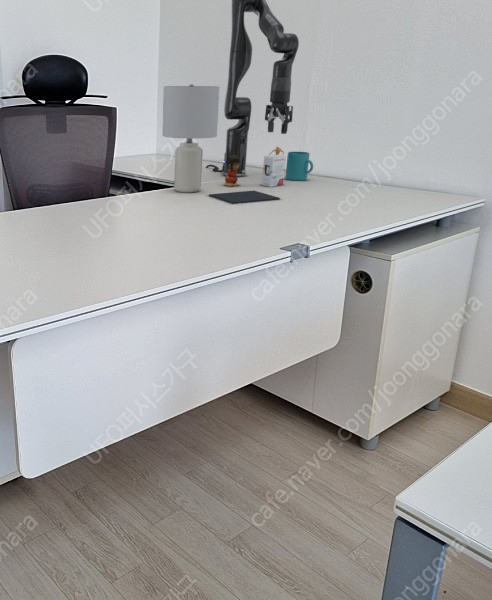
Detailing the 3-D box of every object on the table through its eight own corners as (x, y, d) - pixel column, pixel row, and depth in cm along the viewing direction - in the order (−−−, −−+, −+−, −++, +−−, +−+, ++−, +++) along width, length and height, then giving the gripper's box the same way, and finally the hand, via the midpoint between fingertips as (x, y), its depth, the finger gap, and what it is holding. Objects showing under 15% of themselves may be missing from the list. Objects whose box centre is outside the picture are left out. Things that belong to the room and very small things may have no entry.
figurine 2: (262, 172, 273) (264, 146, 269) (270, 171, 277) (272, 145, 272) (277, 175, 267) (279, 147, 263) (285, 173, 271) (288, 146, 266)
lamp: (191, 184, 243) (195, 83, 229) (224, 192, 227) (231, 84, 213) (151, 189, 233) (152, 83, 219) (183, 197, 217) (187, 84, 203)
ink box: (274, 183, 246) (276, 154, 242) (284, 184, 243) (286, 155, 239) (260, 185, 241) (263, 155, 237) (270, 187, 238) (273, 157, 233)
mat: (209, 195, 220) (209, 194, 220) (254, 192, 227) (254, 190, 227) (232, 203, 206) (232, 202, 206) (279, 199, 214) (280, 197, 213)
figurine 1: (221, 186, 240) (223, 155, 236) (225, 183, 245) (226, 154, 240) (237, 187, 238) (239, 156, 233) (240, 184, 242) (242, 155, 238)
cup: (305, 182, 248) (308, 155, 244) (281, 179, 256) (283, 152, 252) (317, 180, 254) (320, 153, 250) (292, 176, 262) (295, 150, 258)
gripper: (300, 89, 224) (296, 134, 230) (277, 89, 237) (273, 131, 242) (284, 89, 222) (280, 134, 227) (261, 89, 234) (258, 131, 239)
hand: (277, 132), depth 235 cm, fingers open, 8 cm apart
